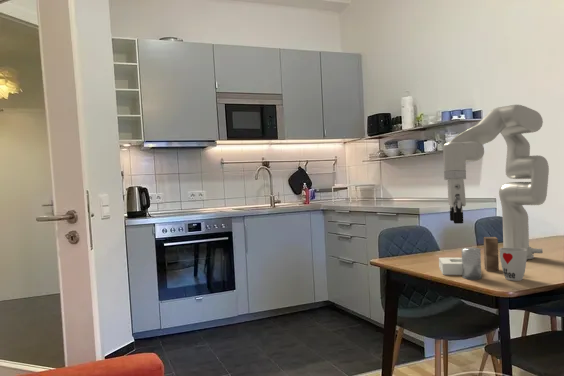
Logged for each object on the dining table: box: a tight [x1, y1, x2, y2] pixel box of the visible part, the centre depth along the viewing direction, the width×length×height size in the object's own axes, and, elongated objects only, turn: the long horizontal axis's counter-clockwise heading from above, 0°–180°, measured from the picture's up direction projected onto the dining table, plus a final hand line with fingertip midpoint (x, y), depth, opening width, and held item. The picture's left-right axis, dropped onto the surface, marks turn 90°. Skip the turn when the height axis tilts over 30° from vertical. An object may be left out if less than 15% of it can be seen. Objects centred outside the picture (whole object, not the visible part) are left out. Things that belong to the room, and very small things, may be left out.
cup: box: [499, 247, 528, 282], centre depth 146 cm, size 8×8×10 cm
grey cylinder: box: [461, 247, 482, 281], centre depth 150 cm, size 6×6×10 cm
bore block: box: [438, 257, 462, 276], centre depth 160 cm, size 12×12×4 cm
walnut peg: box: [483, 236, 500, 272], centre depth 160 cm, size 4×4×12 cm
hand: (456, 222), depth 160 cm, fingers open, 9 cm apart
